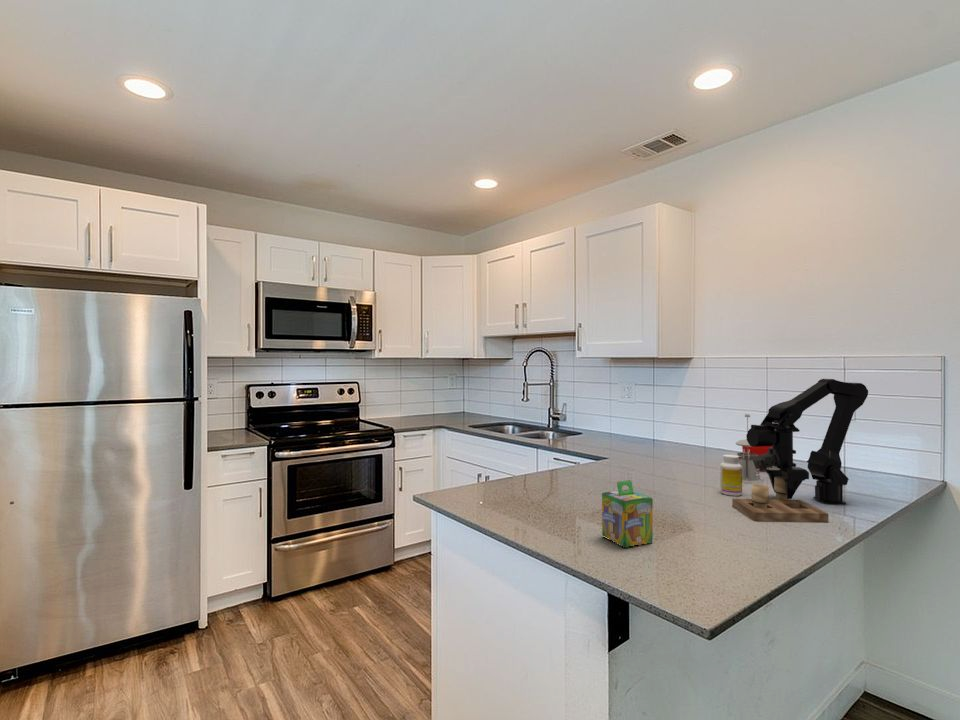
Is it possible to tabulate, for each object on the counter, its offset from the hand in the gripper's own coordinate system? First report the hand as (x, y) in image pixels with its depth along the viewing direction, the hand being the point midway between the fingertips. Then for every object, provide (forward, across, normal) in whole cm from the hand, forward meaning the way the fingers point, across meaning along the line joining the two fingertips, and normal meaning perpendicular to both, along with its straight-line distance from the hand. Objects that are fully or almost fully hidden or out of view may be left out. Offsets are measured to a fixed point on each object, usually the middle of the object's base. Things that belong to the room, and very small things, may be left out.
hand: (782, 495), depth 157 cm
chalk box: (+3, +35, -56) cm, 66 cm away
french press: (+3, -30, +3) cm, 30 cm away
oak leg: (+3, 0, 0) cm, 3 cm away
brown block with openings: (+2, +11, -7) cm, 13 cm away
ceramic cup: (+3, -50, +19) cm, 54 cm away
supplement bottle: (+3, -11, -11) cm, 16 cm away
